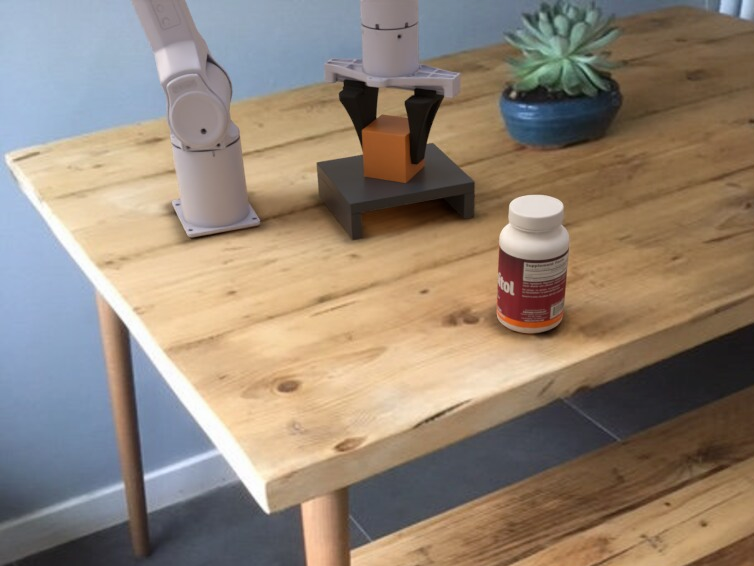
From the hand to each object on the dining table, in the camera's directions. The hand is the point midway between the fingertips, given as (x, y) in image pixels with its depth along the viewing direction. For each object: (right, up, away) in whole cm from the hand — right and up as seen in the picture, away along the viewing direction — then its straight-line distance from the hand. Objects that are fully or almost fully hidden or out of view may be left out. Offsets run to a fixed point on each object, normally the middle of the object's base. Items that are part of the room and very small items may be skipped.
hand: (393, 157), depth 112 cm
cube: (0, -1, +1) cm, 2 cm away
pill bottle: (+13, -21, -15) cm, 29 cm away
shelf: (0, -4, +4) cm, 6 cm away
